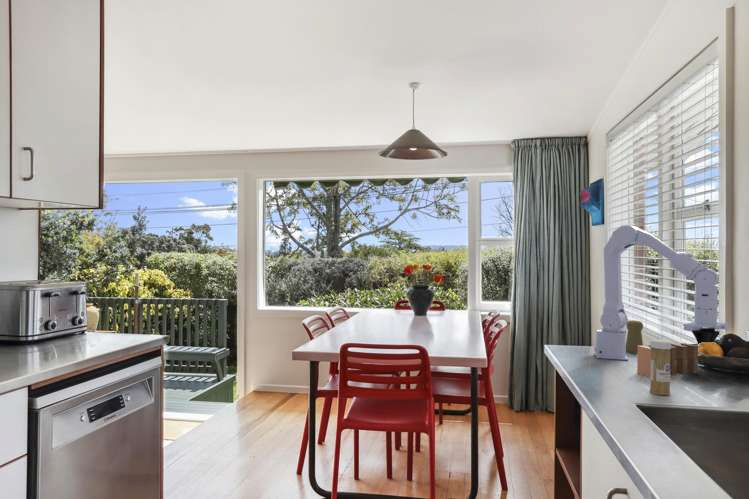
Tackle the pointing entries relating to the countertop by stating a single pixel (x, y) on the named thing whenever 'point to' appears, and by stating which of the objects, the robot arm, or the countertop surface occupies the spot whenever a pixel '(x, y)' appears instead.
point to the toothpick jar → (660, 366)
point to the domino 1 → (644, 360)
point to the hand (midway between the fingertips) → (705, 353)
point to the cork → (634, 336)
